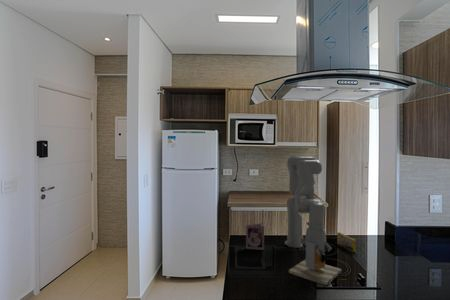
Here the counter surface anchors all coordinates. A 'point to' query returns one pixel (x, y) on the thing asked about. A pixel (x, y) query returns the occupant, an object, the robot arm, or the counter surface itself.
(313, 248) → the small box
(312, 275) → the birch board
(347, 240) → the candy box
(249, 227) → the greeting card
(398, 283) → the counter surface
